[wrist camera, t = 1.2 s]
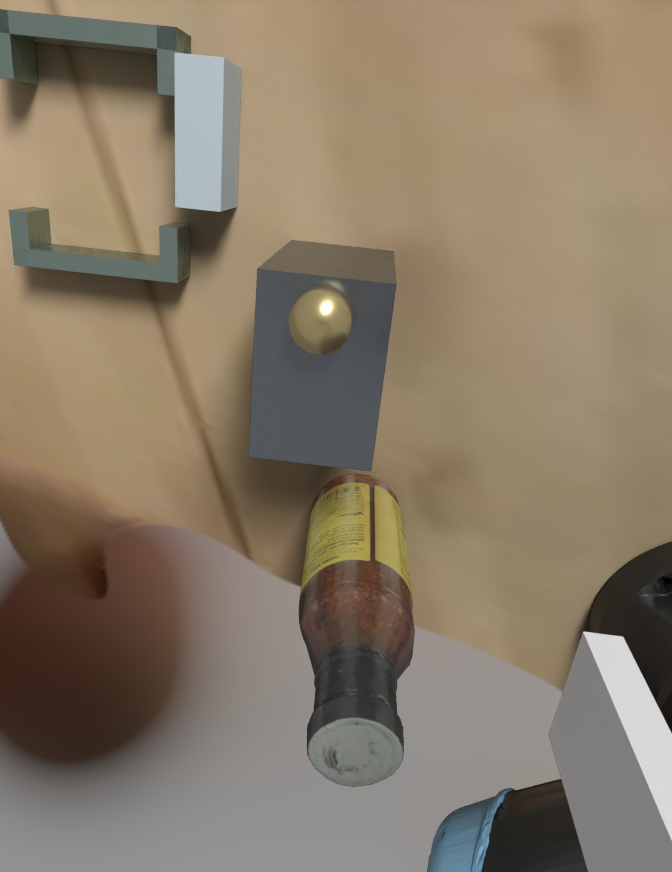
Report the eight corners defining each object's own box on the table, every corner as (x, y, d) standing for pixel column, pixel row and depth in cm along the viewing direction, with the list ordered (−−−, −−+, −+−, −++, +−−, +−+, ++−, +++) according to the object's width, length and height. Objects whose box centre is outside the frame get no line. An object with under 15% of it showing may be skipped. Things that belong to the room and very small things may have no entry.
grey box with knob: (374, 395, 41) (370, 487, 29) (282, 384, 41) (241, 471, 29) (393, 251, 37) (396, 290, 26) (291, 239, 37) (249, 274, 26)
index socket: (189, 276, 39) (177, 283, 36) (36, 259, 39) (14, 265, 36) (190, 36, 34) (176, 27, 31) (14, 18, 34) (-13, 8, 31)
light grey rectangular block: (237, 206, 37) (220, 211, 33) (196, 202, 37) (175, 207, 33) (241, 68, 34) (224, 57, 30) (197, 64, 34) (174, 52, 30)
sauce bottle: (301, 530, 45) (244, 779, 27) (330, 456, 43) (290, 675, 24) (387, 560, 46) (389, 824, 27) (421, 488, 43) (448, 726, 25)
